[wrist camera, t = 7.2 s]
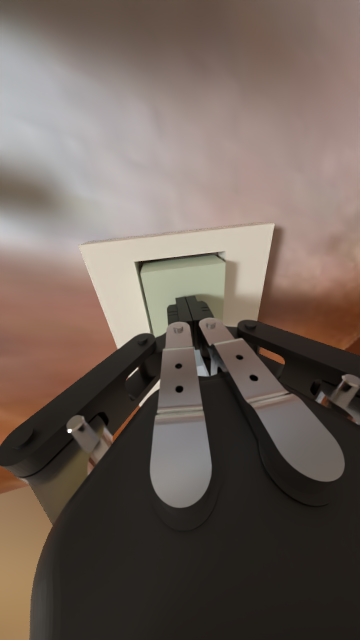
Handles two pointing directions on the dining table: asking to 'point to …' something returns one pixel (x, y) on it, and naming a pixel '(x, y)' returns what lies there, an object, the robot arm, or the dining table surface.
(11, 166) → the dining table surface
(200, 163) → the dining table surface
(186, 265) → the tile one
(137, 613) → the robot arm
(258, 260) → the board
